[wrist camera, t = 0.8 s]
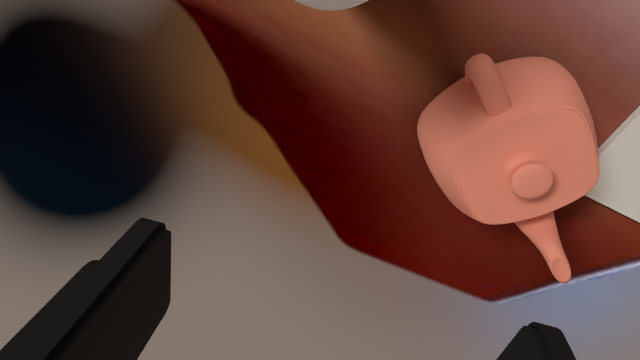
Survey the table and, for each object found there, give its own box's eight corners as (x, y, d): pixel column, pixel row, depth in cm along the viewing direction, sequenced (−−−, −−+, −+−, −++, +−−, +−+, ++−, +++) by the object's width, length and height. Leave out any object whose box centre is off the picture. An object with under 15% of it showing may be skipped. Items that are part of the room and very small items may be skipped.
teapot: (460, 226, 43) (488, 309, 32) (385, 71, 35) (389, 113, 25) (589, 182, 38) (669, 262, 28) (532, -6, 31) (613, 5, 20)
